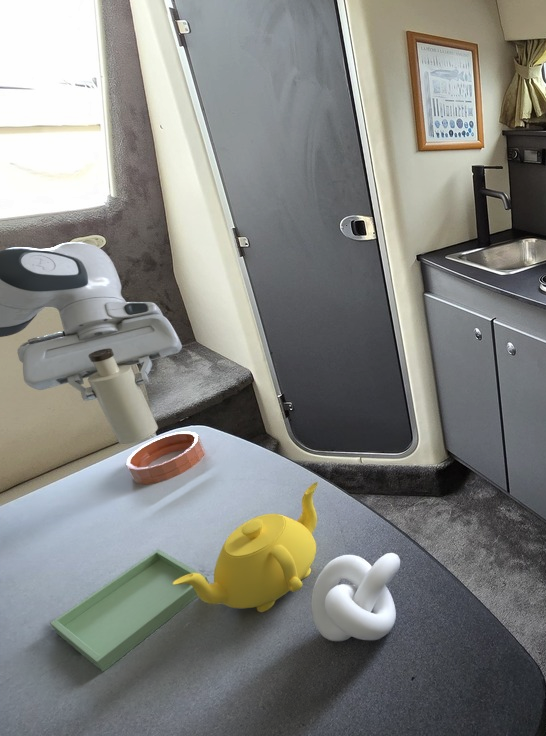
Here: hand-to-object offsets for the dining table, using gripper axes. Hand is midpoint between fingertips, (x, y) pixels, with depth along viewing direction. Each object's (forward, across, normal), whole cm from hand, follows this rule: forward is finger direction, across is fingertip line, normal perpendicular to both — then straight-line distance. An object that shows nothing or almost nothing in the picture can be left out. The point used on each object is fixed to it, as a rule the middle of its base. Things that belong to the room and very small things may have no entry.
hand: (117, 390), depth 87 cm
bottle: (+6, 0, +7) cm, 10 cm away
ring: (+11, +1, +22) cm, 24 cm away
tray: (+36, -4, -3) cm, 36 cm away
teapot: (+43, +13, -10) cm, 46 cm away
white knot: (+54, +21, -22) cm, 62 cm away
